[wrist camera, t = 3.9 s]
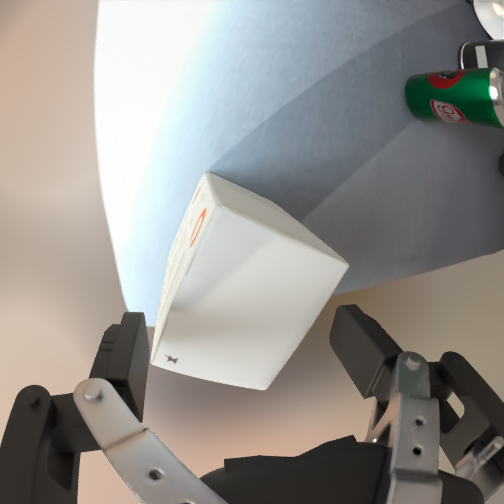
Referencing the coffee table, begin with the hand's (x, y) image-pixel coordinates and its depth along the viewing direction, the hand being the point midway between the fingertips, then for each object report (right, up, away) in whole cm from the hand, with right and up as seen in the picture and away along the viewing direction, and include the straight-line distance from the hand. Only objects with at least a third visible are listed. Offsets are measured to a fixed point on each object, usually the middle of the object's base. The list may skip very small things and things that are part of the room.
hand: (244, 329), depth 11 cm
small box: (-2, +5, +12) cm, 14 cm away
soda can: (+17, +19, +11) cm, 28 cm away
